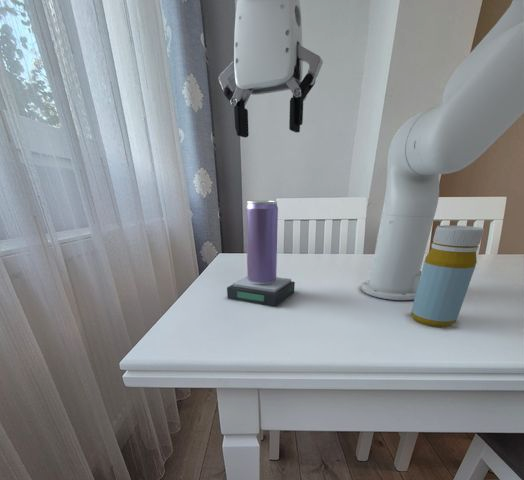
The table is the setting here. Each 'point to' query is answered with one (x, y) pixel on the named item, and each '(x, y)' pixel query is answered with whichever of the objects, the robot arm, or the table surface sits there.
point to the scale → (261, 291)
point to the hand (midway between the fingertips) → (267, 133)
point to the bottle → (446, 275)
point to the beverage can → (261, 241)
